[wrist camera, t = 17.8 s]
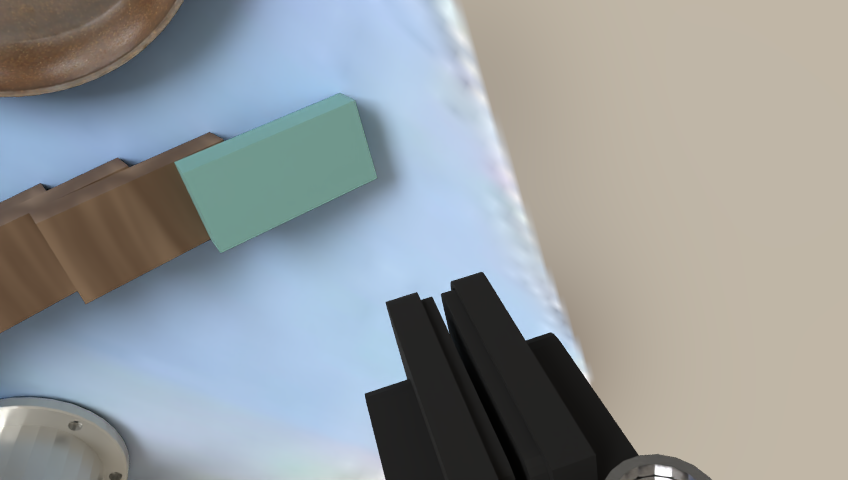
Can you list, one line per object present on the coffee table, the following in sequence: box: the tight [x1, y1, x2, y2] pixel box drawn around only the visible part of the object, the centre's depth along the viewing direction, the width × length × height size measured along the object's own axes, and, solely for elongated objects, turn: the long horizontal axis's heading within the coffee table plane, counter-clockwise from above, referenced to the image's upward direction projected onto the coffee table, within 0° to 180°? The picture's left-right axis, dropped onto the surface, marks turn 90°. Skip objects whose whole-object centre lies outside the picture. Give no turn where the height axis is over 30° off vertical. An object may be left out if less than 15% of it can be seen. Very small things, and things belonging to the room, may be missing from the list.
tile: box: [174, 93, 377, 253], centre depth 37 cm, size 2×5×10 cm
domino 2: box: [29, 132, 224, 304], centre depth 36 cm, size 2×5×10 cm
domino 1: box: [0, 158, 129, 333], centre depth 35 cm, size 2×5×10 cm
